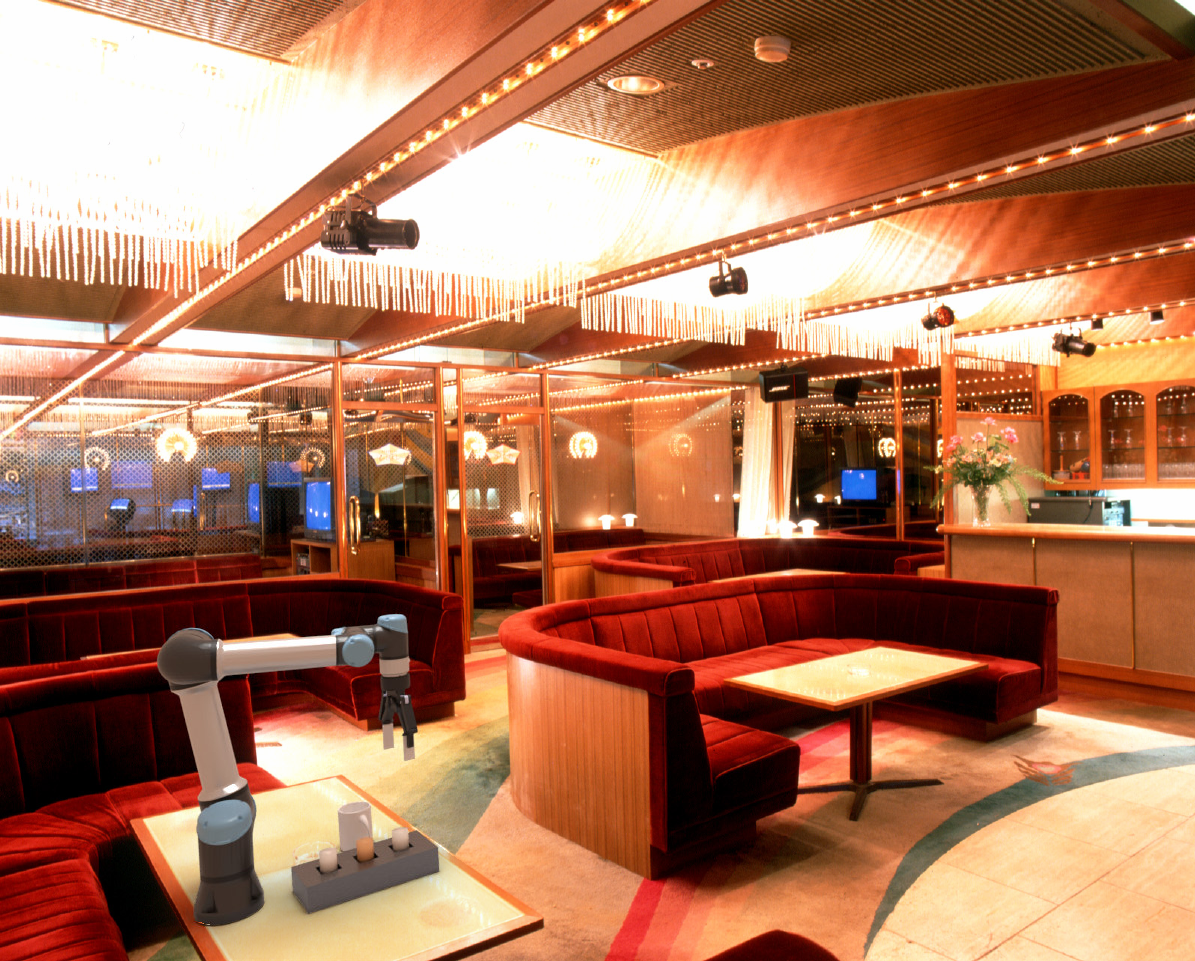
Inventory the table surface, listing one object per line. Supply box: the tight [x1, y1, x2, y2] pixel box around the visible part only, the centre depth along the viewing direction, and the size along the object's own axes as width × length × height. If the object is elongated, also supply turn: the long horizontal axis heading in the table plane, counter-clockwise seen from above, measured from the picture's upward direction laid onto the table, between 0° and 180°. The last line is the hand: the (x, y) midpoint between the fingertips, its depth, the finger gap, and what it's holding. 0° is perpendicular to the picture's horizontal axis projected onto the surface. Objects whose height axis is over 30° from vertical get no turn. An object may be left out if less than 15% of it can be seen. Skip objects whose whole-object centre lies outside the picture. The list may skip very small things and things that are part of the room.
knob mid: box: [356, 837, 374, 863], centre depth 208 cm, size 4×4×5 cm
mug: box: [337, 800, 374, 852], centre depth 228 cm, size 9×12×11 cm
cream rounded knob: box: [391, 826, 409, 852], centre depth 213 cm, size 4×4×5 cm
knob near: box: [318, 847, 338, 875], centre depth 203 cm, size 4×4×5 cm
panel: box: [290, 830, 440, 915], centre depth 208 cm, size 32×14×6 cm, turn 124°
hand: (398, 753), depth 224 cm, fingers open, 13 cm apart
